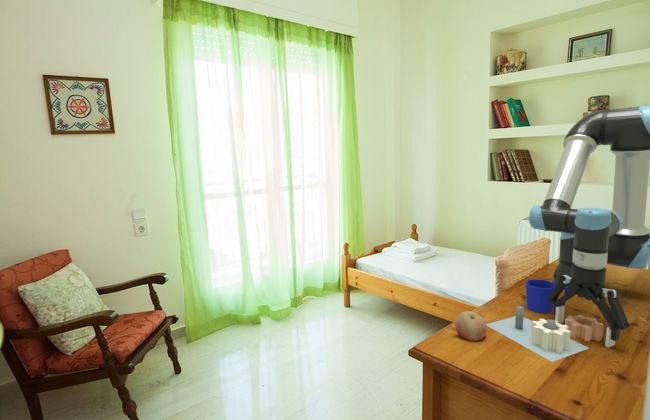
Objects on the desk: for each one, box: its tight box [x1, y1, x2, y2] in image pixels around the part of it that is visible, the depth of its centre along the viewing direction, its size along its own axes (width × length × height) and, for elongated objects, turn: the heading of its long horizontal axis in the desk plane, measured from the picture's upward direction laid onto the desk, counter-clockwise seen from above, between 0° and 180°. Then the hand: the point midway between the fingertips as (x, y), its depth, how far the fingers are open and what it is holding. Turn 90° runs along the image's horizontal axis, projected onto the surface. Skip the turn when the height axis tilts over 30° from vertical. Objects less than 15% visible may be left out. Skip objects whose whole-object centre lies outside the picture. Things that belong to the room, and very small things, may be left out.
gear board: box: [486, 305, 590, 363], centre depth 99 cm, size 14×21×8 cm, turn 21°
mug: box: [525, 278, 569, 314], centre depth 114 cm, size 8×12×10 cm
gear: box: [531, 318, 571, 353], centre depth 94 cm, size 9×9×5 cm
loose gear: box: [564, 314, 605, 342], centre depth 99 cm, size 9×9×5 cm
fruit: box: [454, 310, 488, 342], centre depth 101 cm, size 8×8×8 cm
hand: (582, 338), depth 99 cm, fingers open, 13 cm apart
